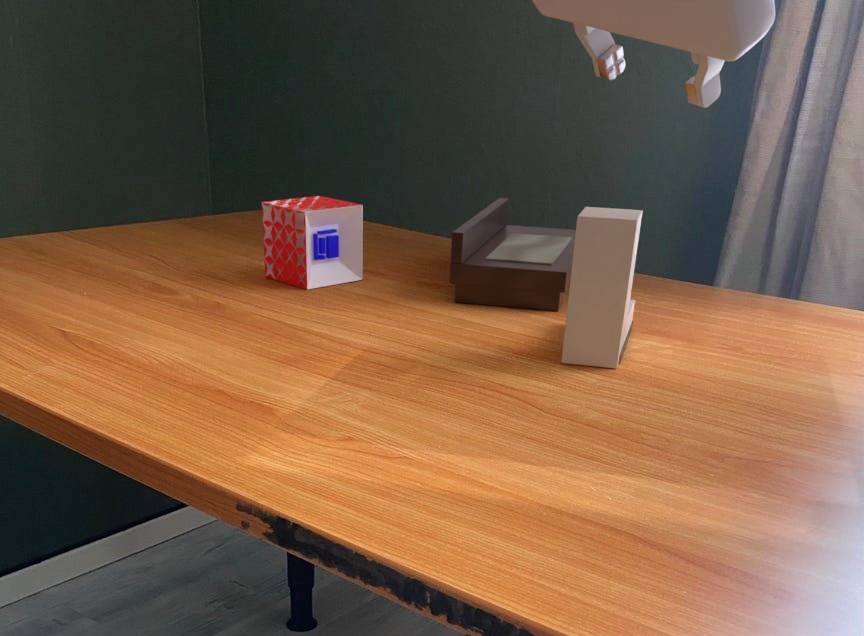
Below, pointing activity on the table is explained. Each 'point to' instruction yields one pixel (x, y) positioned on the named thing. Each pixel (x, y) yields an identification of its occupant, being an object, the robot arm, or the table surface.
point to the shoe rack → (510, 262)
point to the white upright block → (601, 287)
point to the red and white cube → (313, 241)
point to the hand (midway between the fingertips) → (656, 87)
